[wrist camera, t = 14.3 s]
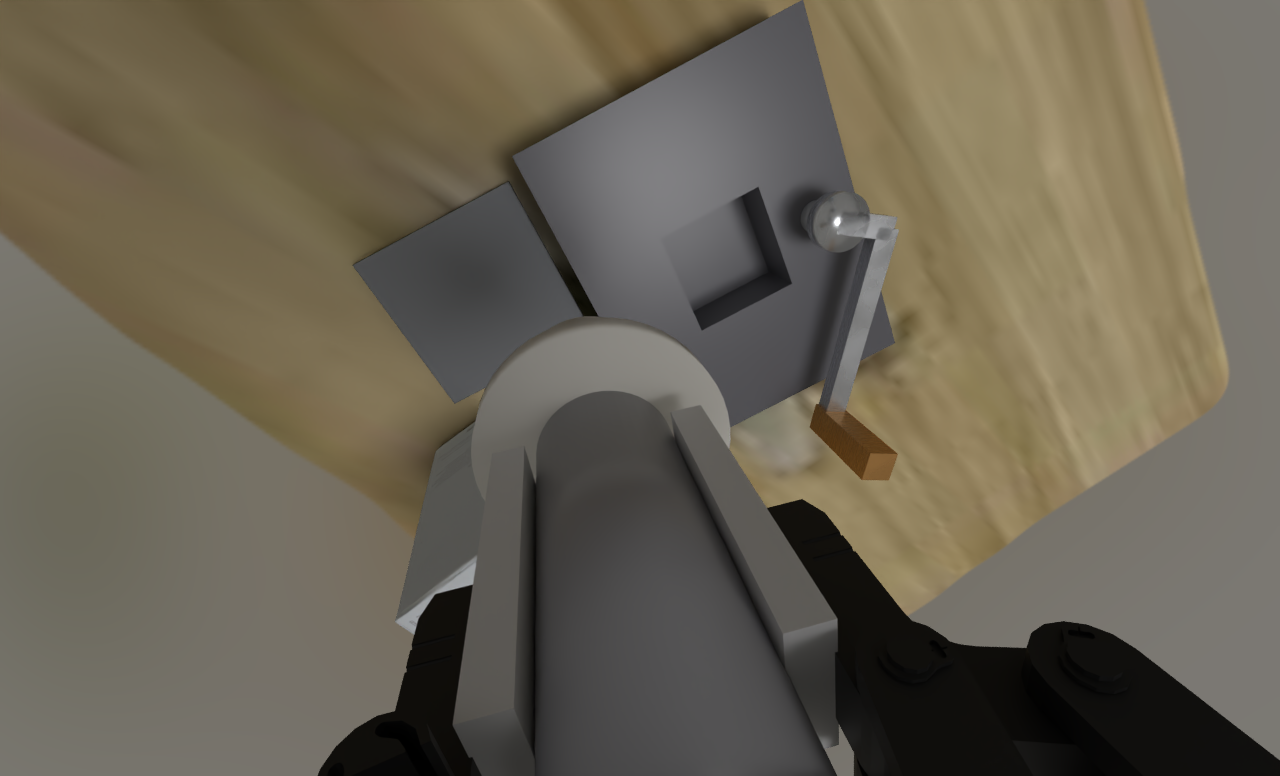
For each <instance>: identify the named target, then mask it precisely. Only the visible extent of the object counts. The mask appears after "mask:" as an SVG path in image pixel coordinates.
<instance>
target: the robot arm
mask: <svg viewBox="0 0 1280 776" xmlns="http://www.w3.org/2000/svg"><path fill="white" fill-rule="evenodd" d="M670 413H671V419H672V425H673V432H674V438H675V441H676V443H677V445H678V447H679V449H680V451H681V453H682V455H683V457H684V459H685V461H686V464H687V466H688V468H689V470H690V472H691V474H692V476H693V478H694V480H695V482H696V484H697V487H698V489H699V491H700V493H701V495H702V497H703V499H704V501H705V503H706V505H707V507H708V509H709V512H710V514H711V516H712V518H713V520H714V522H715V524H716V526H717V528H718V530H719V532H720V535H721V537H722V539H723V541H724V543H725V545H726V547H727V549H728V551H729V553H730V555H731V557H732V560H733V562H734V564H735V566H736V568H737V570H738V572H739V574H740V576H741V578H742V580H743V582H744V585H745V587H746V589H747V591H748V593H749V595H750V597H751V599H752V601H753V603H754V605H755V608H756V610H757V612H758V614H759V616H760V618H761V620H762V622H763V624H764V626H765V628H766V630H767V633H768V635H769V637H770V639H771V641H772V643H773V645H774V647H775V649H776V651H777V653H778V656H779V658H780V660H781V662H782V664H783V666H784V668H785V670H786V672H787V673H788V675H789V677H790V679H791V681H792V683H793V685H794V687H795V689H796V691H797V694H798V696H799V698H800V700H801V702H802V704H803V706H804V708H805V710H806V712H807V714H808V716H809V718H810V721H811V723H812V725H813V727H814V729H815V731H816V733H817V735H818V737H819V739H820V741H821V743H822V745H823V748H824V749H825V748H829V747H833V746H836V745H838V744H839V725H840V727H841V729H842V731H843V732H844V734H845V736H846V738H847V740H848V742H849V744H850V746H851V748H852V750H853V751H854V776H1280V760H1278V759H1277V758H1276V757H1274V756H1273V755H1272V754H1271V753H1270V752H1268V751H1267V750H1266V749H1264V748H1263V747H1262V746H1261V745H1259V744H1258V743H1256V742H1255V741H1254V740H1253V739H1252V738H1250V737H1249V736H1248V735H1246V734H1245V733H1244V732H1243V731H1241V730H1240V729H1238V728H1237V727H1236V726H1235V725H1233V724H1232V723H1231V722H1230V721H1228V720H1227V719H1226V718H1225V717H1223V716H1222V715H1221V714H1219V713H1218V712H1217V711H1215V710H1214V709H1213V708H1212V707H1210V706H1209V705H1208V704H1206V703H1205V702H1204V701H1203V700H1201V699H1200V698H1199V697H1197V696H1196V695H1195V694H1194V693H1192V692H1191V691H1190V690H1188V689H1187V688H1186V687H1185V686H1183V685H1182V684H1181V683H1179V682H1178V681H1177V680H1176V679H1174V678H1173V677H1172V676H1170V675H1169V674H1168V673H1167V672H1165V671H1164V670H1163V669H1161V668H1160V667H1159V666H1158V665H1156V664H1155V663H1154V662H1152V661H1151V660H1149V658H1147V657H1146V656H1145V655H1143V654H1142V653H1141V652H1140V651H1138V650H1137V649H1136V648H1134V647H1132V646H1131V645H1129V644H1127V643H1126V642H1124V641H1123V640H1121V639H1119V638H1118V637H1116V636H1115V635H1113V634H1111V633H1108V632H1105V631H1103V630H1100V629H1097V628H1094V627H1092V626H1089V625H1086V624H1079V623H1072V622H1065V621H1063V622H1055V623H1049V624H1044V625H1042V626H1041V627H1039V628H1038V629H1036V630H1035V631H1033V632H1032V633H1031V636H1030V639H1029V642H1028V645H1027V648H1009V647H1008V648H1007V647H979V646H969V645H961V644H957V643H953V642H950V641H948V640H947V639H946V638H945V637H944V636H942V635H941V634H939V633H938V632H936V631H934V630H933V629H931V628H930V627H928V626H926V625H923V624H920V623H916V622H913V621H912V620H911V619H910V618H909V617H908V616H907V615H906V614H905V613H904V612H903V611H902V610H901V608H900V607H899V606H898V605H897V603H896V602H895V601H894V600H893V598H892V597H891V596H890V594H889V593H888V592H887V591H886V589H885V588H884V587H883V586H882V584H881V583H880V582H879V581H878V579H877V578H876V577H875V576H874V574H873V573H872V572H871V570H870V569H869V568H868V567H867V565H866V564H865V563H864V562H863V560H862V559H861V558H860V557H859V555H858V554H857V553H856V552H854V551H853V549H852V546H851V545H850V544H849V543H848V541H847V540H846V539H845V538H844V536H843V535H842V536H841V534H840V531H839V530H838V529H837V527H836V526H835V525H834V524H833V522H832V521H831V520H830V519H829V517H828V516H827V515H826V514H825V513H824V512H823V511H821V510H819V509H818V508H816V507H814V506H813V505H811V504H809V503H808V502H806V501H804V500H803V499H801V500H797V501H793V502H789V503H785V504H781V505H777V506H773V507H769V508H766V506H765V505H764V503H763V501H762V500H761V498H760V497H759V495H758V494H757V492H756V491H755V489H754V487H753V486H752V484H751V483H750V481H749V480H748V478H747V476H746V475H745V473H744V472H743V470H742V469H741V467H740V466H739V464H738V462H737V461H736V459H735V458H734V456H733V455H732V453H731V451H730V450H729V448H728V447H727V445H726V444H725V442H724V441H723V439H722V437H721V436H720V434H719V433H718V431H717V430H716V428H715V426H714V425H713V423H712V422H711V420H710V419H709V417H708V416H707V414H706V412H705V411H704V409H703V408H702V406H701V405H698V406H694V407H689V408H685V409H681V410H676V411H672V412H670ZM535 601H536V483H535V479H534V476H533V473H532V470H531V466H530V463H529V460H528V456H527V453H526V450H525V446H522V447H518V448H513V449H509V450H505V451H500V452H496V453H492V458H491V465H490V472H489V478H488V485H487V492H486V499H485V506H484V513H483V520H482V526H481V533H480V540H479V547H478V554H477V561H476V568H475V574H474V581H473V585H469V586H465V587H461V588H457V589H453V590H449V591H445V592H441V593H437V594H435V595H434V596H433V598H432V599H431V601H430V602H429V604H428V605H427V607H426V608H425V610H424V611H423V613H422V614H421V616H420V617H419V619H418V622H417V626H416V630H415V634H414V638H413V642H412V650H411V651H410V654H409V658H408V662H407V666H406V668H407V672H406V673H405V674H404V678H403V681H402V685H401V689H400V694H399V697H398V702H397V706H396V710H395V711H394V712H390V713H386V714H383V715H378V716H376V717H374V718H373V719H371V720H369V721H367V722H366V723H364V724H363V725H361V726H359V727H357V728H356V729H354V730H353V731H352V732H351V733H350V734H349V735H348V736H347V737H346V738H345V739H344V740H343V741H342V742H340V743H339V744H338V746H336V747H335V749H334V750H333V751H332V753H331V754H330V756H329V757H328V759H327V760H326V762H325V763H324V765H323V766H322V767H321V769H320V771H319V773H318V776H535Z"/></svg>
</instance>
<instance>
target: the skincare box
mask: <svg viewBox="0 0 1280 776" xmlns="http://www.w3.org/2000/svg"><path fill="white" fill-rule="evenodd" d="M474 425H475V422H474V423H473V424H471V425H470V426H468V427H467V428H466V429H464V430H463V431H461V432H460V433H459V434H457V435H456V436H455V437H453V438H452V439H450V440H449V441H448V442H447V443H445V444H444V445H442V446H441V447H440V448H439V449H438V450H437V451H436V452H435V456H434V460H433V464H432V468H431V473H430V477H429V481H428V485H427V490H426V494H425V498H424V502H423V506H422V510H421V514H420V519H419V523H418V527H417V531H416V536H415V540H414V545H413V549H412V553H411V558H410V562H409V566H408V570H407V575H406V579H405V583H404V587H403V591H402V596H401V600H400V604H399V609H398V613H397V616H396V619H395V622H396V623H397V624H399V625H400V626H402V627H403V628H405V629H406V630H408V631H409V632H411V633H412V634H415V630H416V626H417V622H418V619H419V617H420V616H421V614H422V613H423V611H424V610H425V608H426V607H427V605H428V604H429V602H430V601H431V599H432V598H433V596H434V595H435V594H437V593H441V592H445V591H449V590H453V589H457V588H461V587H465V586H469V585H473V581H474V574H475V568H476V561H477V554H478V547H479V540H480V533H481V526H482V520H483V513H484V506H485V501H484V499H483V497H482V496H481V493H480V491H479V488H478V486H477V484H476V481H475V477H474V472H473V468H472V459H471V443H472V434H473V430H474Z"/></svg>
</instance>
